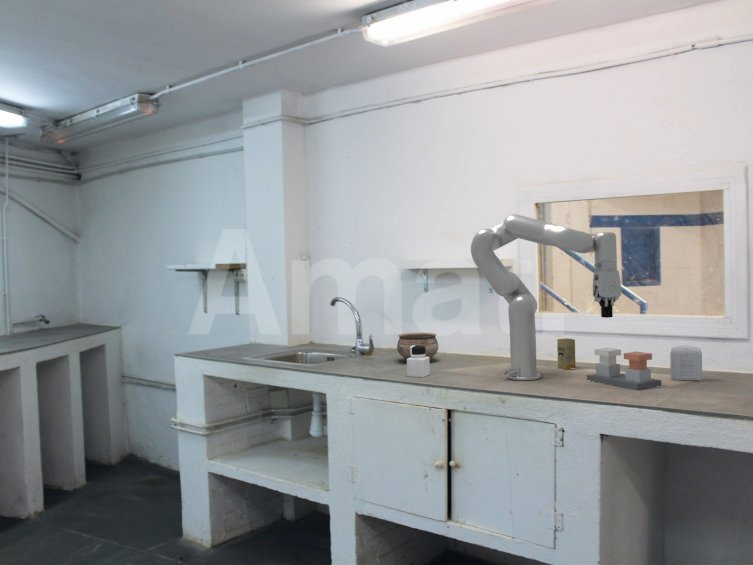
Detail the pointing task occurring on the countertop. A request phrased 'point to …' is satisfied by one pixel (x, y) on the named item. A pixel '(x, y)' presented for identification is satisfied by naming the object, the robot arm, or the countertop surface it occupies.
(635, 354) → the salmon pink block
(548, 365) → the countertop surface
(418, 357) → the medicine bottle
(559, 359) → the shoe polish box
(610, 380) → the block
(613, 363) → the white plunger
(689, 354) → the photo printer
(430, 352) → the cooking pot
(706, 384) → the countertop surface
